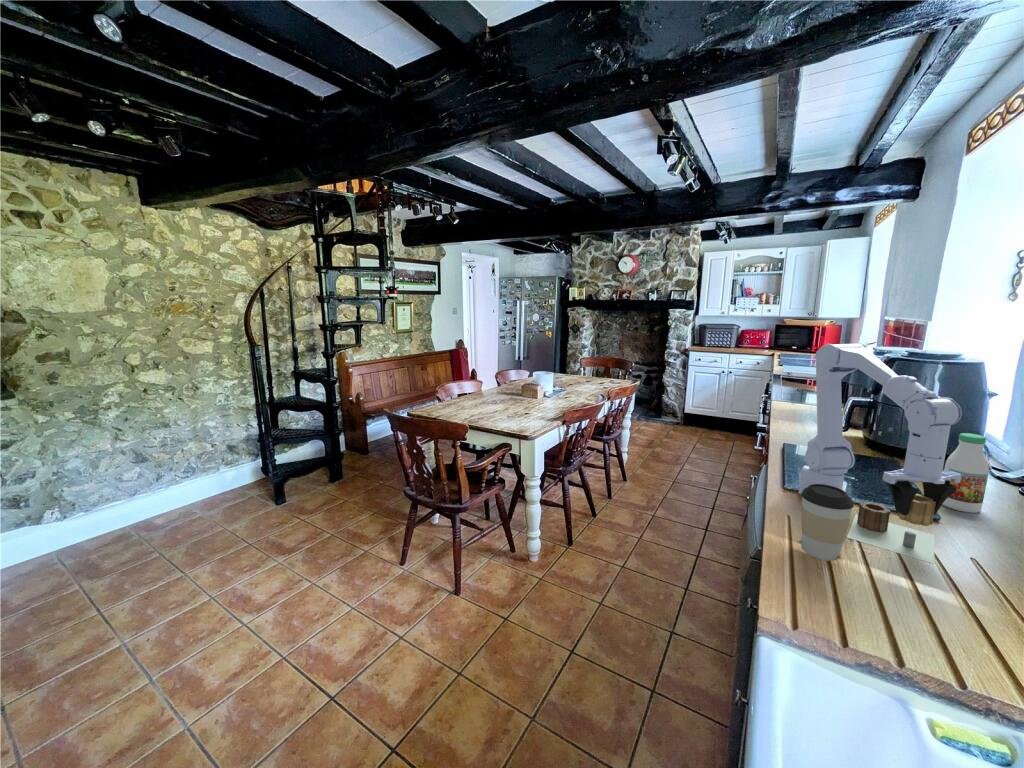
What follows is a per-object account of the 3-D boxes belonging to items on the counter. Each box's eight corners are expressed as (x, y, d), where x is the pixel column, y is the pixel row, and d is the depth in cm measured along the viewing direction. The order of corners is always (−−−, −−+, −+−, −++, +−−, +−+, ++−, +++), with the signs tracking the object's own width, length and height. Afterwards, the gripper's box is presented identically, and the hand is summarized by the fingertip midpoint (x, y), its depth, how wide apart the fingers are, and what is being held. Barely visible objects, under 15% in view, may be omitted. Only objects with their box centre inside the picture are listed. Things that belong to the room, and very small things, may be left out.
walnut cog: (855, 526, 97) (858, 507, 96) (858, 518, 100) (861, 499, 99) (886, 535, 93) (889, 515, 92) (888, 526, 96) (891, 507, 96)
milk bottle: (929, 500, 111) (942, 431, 107) (955, 499, 111) (968, 430, 108) (963, 514, 103) (977, 440, 100) (989, 512, 104) (1005, 439, 100)
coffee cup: (838, 545, 91) (847, 483, 89) (852, 568, 83) (862, 501, 81) (791, 536, 95) (798, 477, 93) (800, 557, 87) (807, 493, 84)
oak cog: (895, 519, 88) (899, 498, 87) (898, 510, 92) (902, 490, 91) (931, 528, 84) (935, 506, 83) (932, 519, 88) (936, 498, 87)
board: (846, 542, 93) (848, 525, 92) (855, 518, 103) (857, 503, 102) (933, 569, 83) (936, 550, 82) (933, 539, 93) (936, 523, 92)
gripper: (908, 461, 81) (898, 522, 84) (981, 460, 81) (969, 521, 83) (878, 449, 88) (869, 506, 91) (945, 448, 88) (934, 505, 90)
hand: (915, 512), depth 87 cm, fingers closed on oak cog, 5 cm apart
